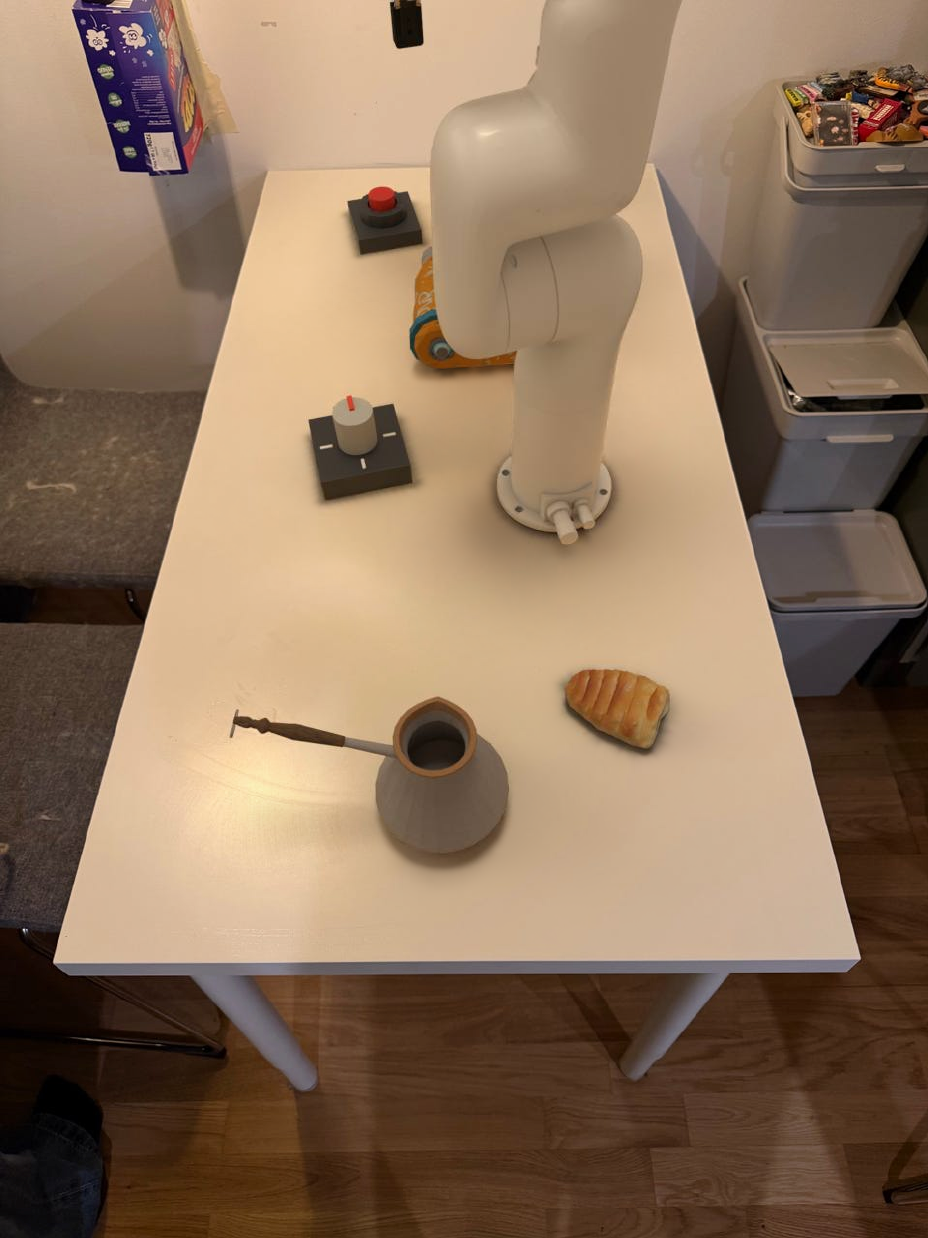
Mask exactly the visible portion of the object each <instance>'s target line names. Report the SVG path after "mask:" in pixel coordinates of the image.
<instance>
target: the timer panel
mask: <svg viewBox="0 0 928 1238" xmlns="http://www.w3.org/2000/svg"><path fill="white" fill-rule="evenodd" d="M372 408H373V414H374V420H375V426H376V432H377V439H378V440H377V444H376V446H375V447H374V448H373V449H372V450H371V451H370V452H368V453H366V454H362V455H350V454H347V453H345V452H344V451H342V450H341V448H340V447H339V444H338V439H337V435H336V430H335V425H334V421H333V416H332V414H330V415H326V416H320V417H315V418H310V419H308V420H307V422H308V426H309V431H310V436H311V441H312V447H313V451H314V458H315V460H316V467H317V472H318V477H319V482H320V486H321V491H322V494H323V498H324V501H329V500H334V499H340V498H344V497H349V496H354V495H359V494H364V493H369V492H374V491H380V490H385V489H389V488H395V487H400V486H404V485H410V484H413V474H412V466H411V462H410V458H409V454H408V450H407V447H406V443H405V440H404V437H403V433H402V430H401V429H402V428H401V425H400V422H399V419H398V415H397V412H396V408H395V404H394V403H388V404H384V405H378V406H372Z"/></svg>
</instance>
